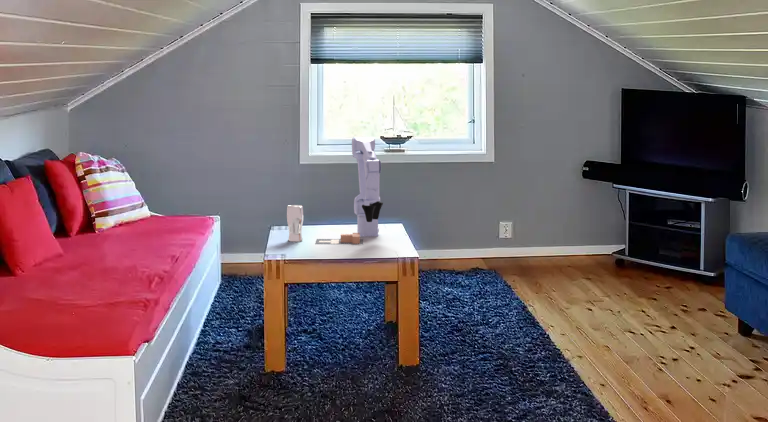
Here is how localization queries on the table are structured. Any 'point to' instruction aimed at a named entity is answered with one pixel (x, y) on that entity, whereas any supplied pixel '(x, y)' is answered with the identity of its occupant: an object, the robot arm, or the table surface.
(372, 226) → the robot arm
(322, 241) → the t mat
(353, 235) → the t block
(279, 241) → the table surface
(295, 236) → the beer glass
